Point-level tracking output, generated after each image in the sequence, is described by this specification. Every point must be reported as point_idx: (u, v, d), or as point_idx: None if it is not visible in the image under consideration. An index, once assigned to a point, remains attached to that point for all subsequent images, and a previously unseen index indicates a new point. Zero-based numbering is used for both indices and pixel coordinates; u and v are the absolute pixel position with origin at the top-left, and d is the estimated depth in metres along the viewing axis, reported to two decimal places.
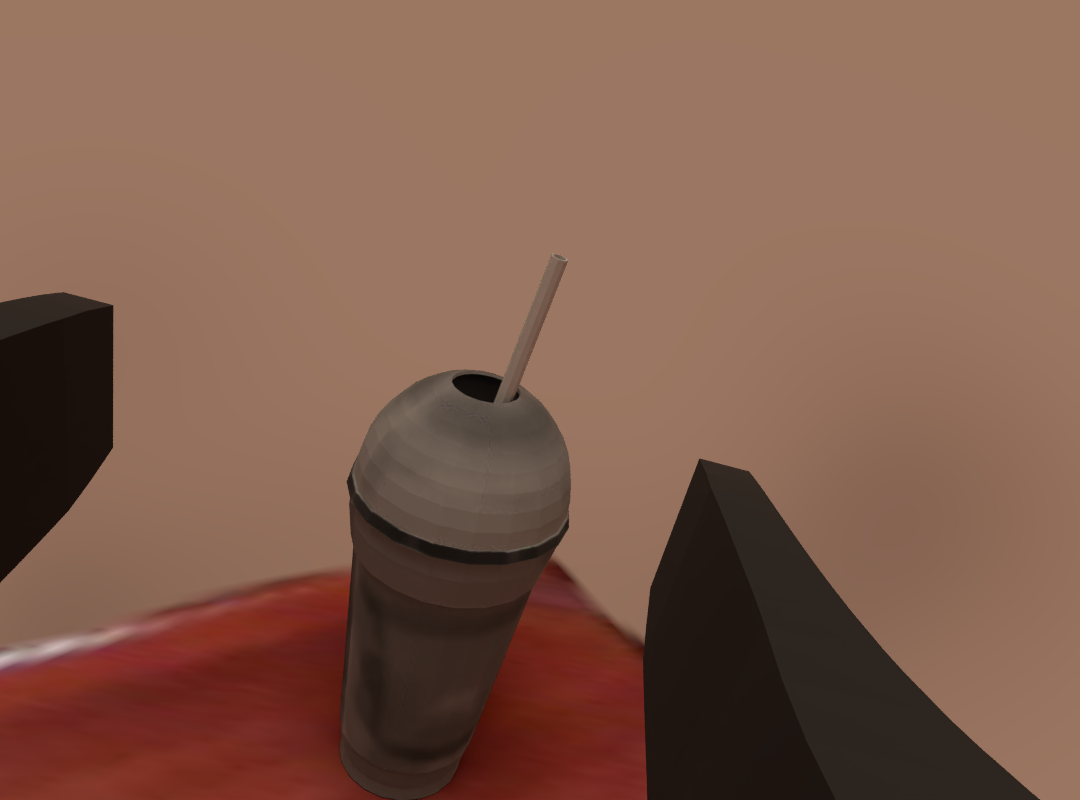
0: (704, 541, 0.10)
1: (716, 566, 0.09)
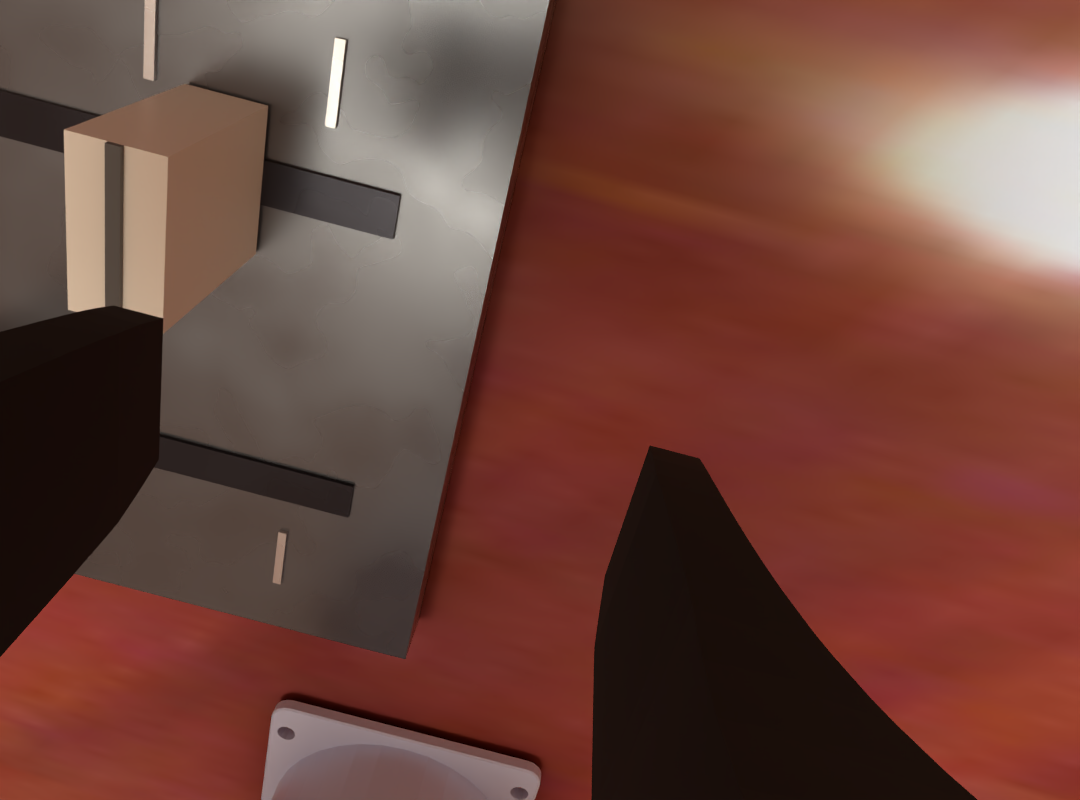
0: (648, 527, 0.10)
1: (657, 551, 0.09)
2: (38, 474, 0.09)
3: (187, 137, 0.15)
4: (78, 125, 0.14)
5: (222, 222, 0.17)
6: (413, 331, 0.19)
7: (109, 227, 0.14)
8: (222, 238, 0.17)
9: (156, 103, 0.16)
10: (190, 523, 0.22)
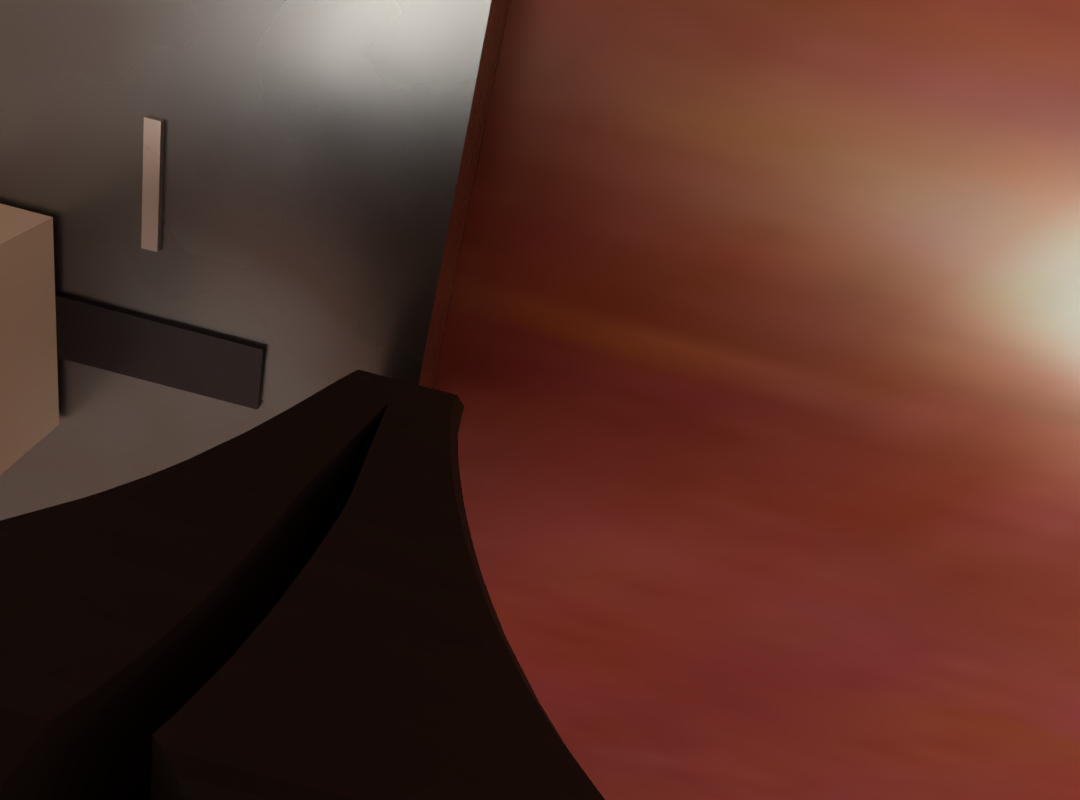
0: None
1: None
2: None
3: None
4: None
5: None
6: None
7: None
8: None
9: None
10: None
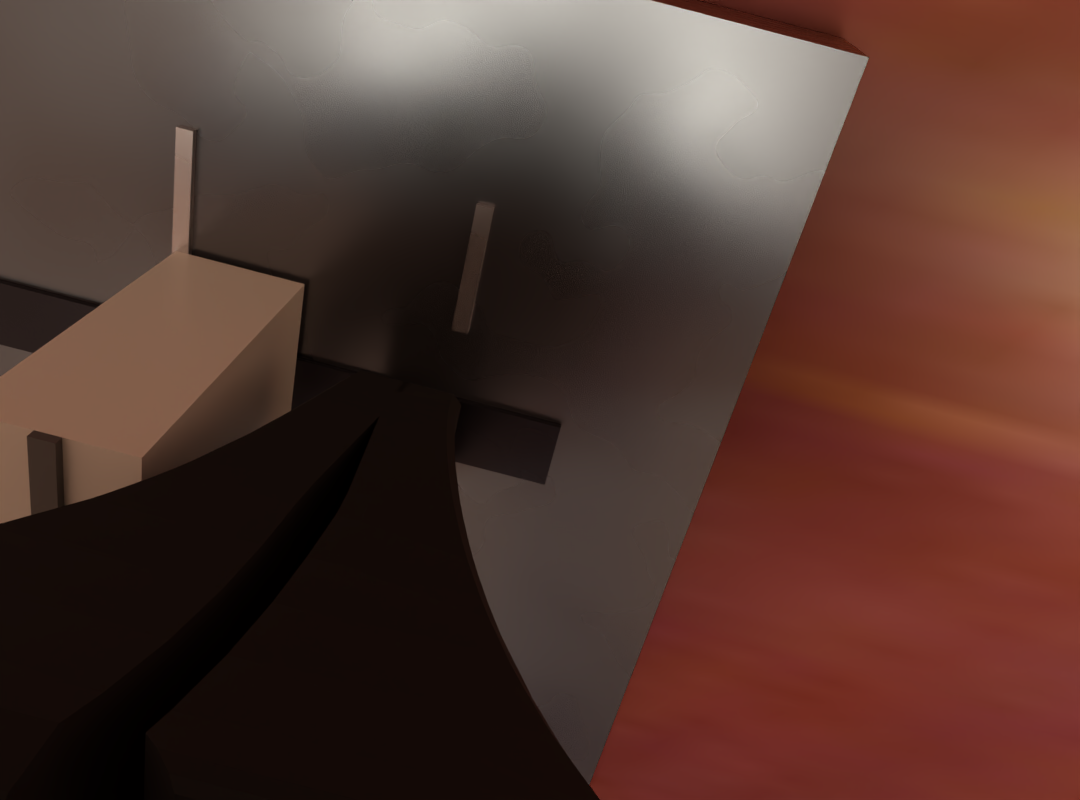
0: None
1: None
2: None
3: (176, 390, 0.09)
4: None
5: None
6: (563, 600, 0.13)
7: None
8: None
9: (128, 306, 0.10)
10: None
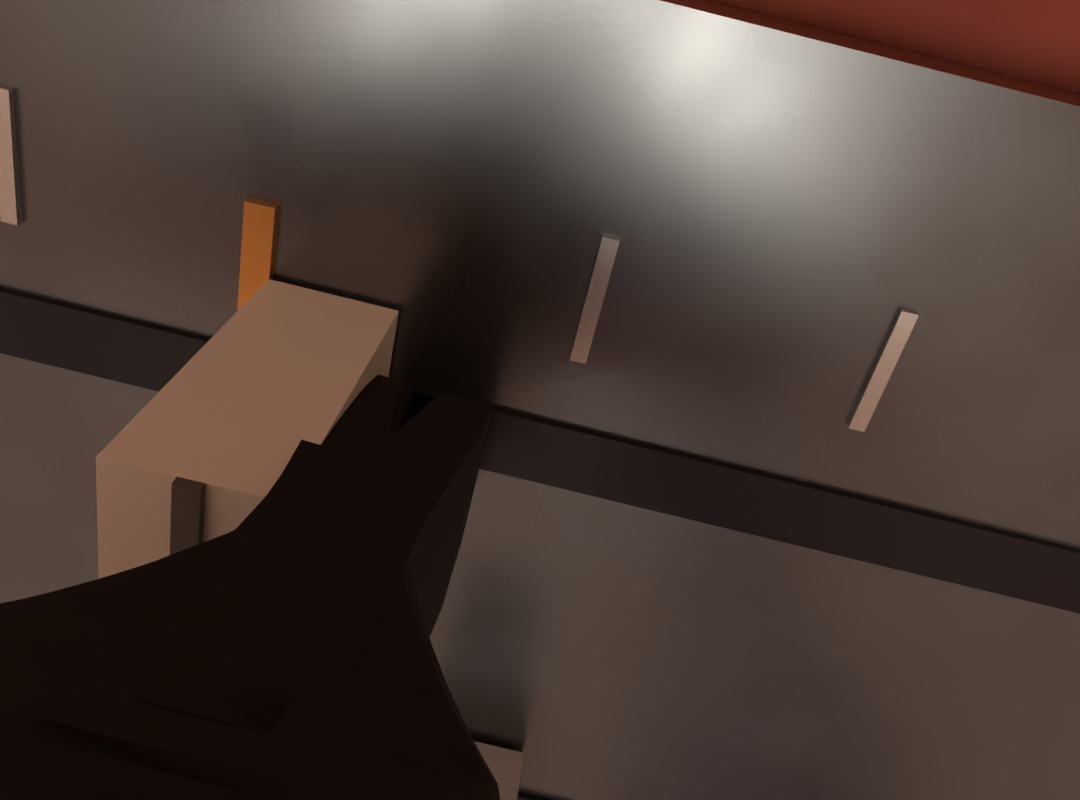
0: None
1: None
2: (431, 576, 0.09)
3: (303, 429, 0.09)
4: (120, 436, 0.08)
5: None
6: None
7: None
8: None
9: (236, 340, 0.10)
10: None
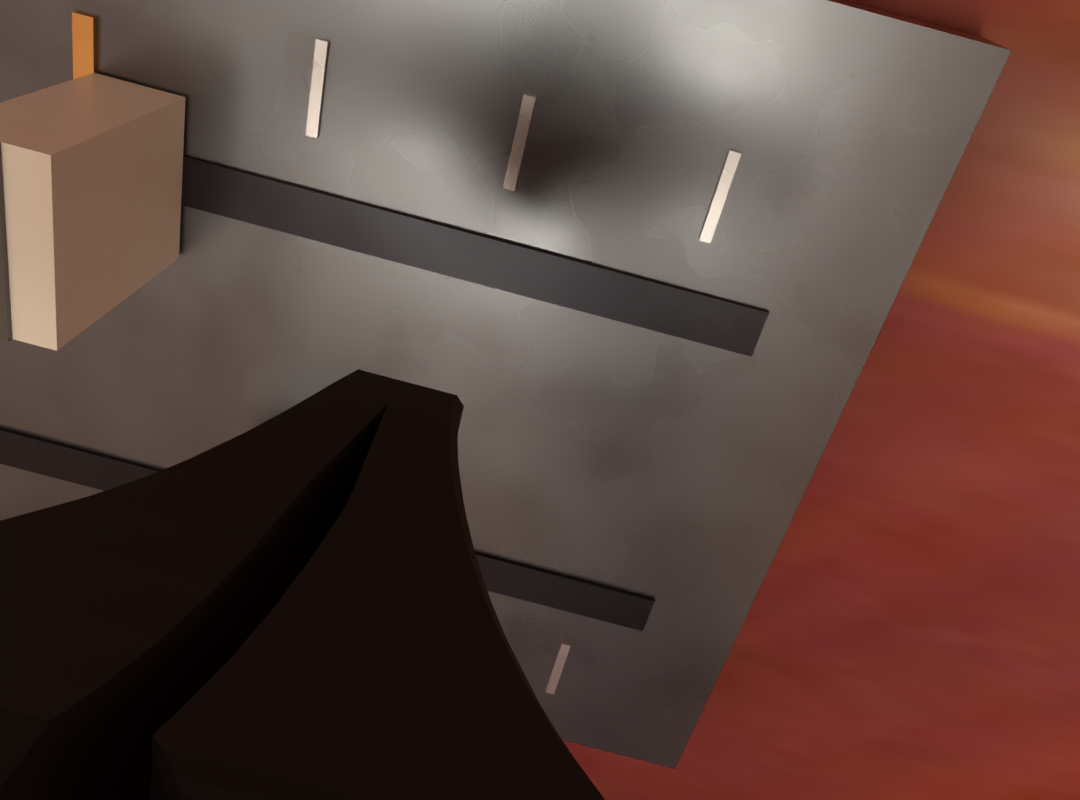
0: None
1: None
2: None
3: (80, 131, 0.13)
4: None
5: (131, 225, 0.15)
6: (752, 448, 0.18)
7: None
8: (132, 242, 0.15)
9: (54, 94, 0.14)
10: None
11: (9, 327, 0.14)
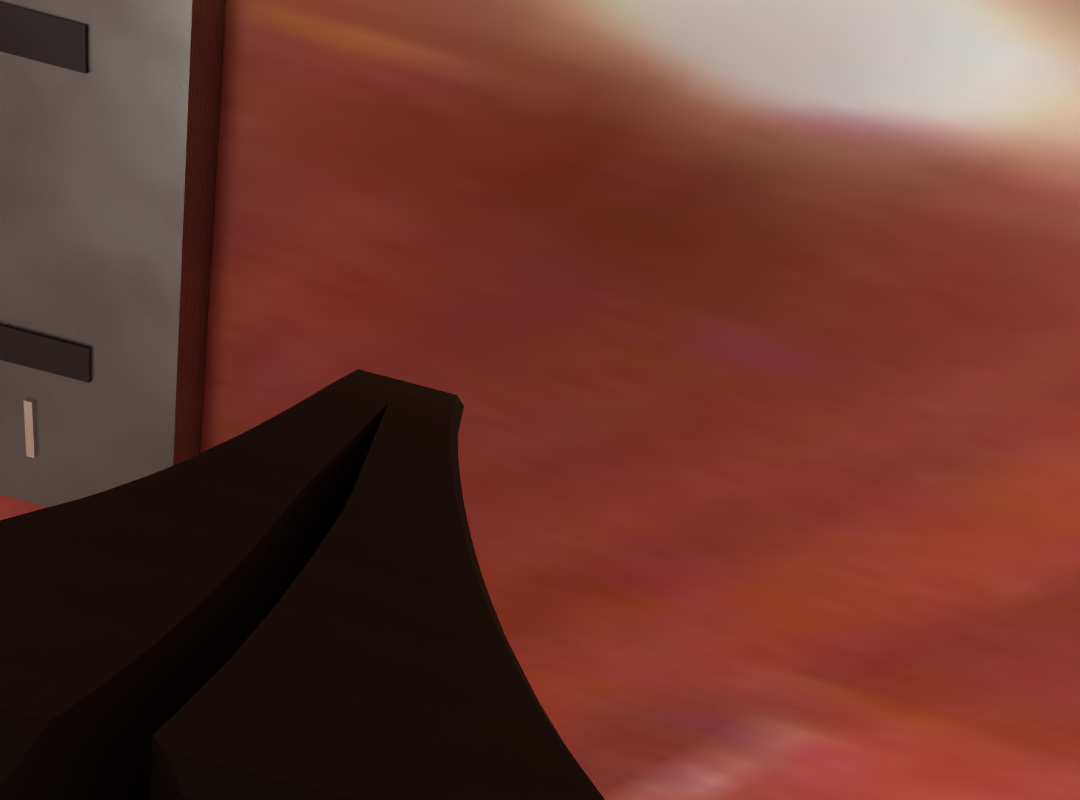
0: None
1: None
2: None
3: None
4: None
5: None
6: (123, 176, 0.19)
7: None
8: None
9: None
10: None
11: None
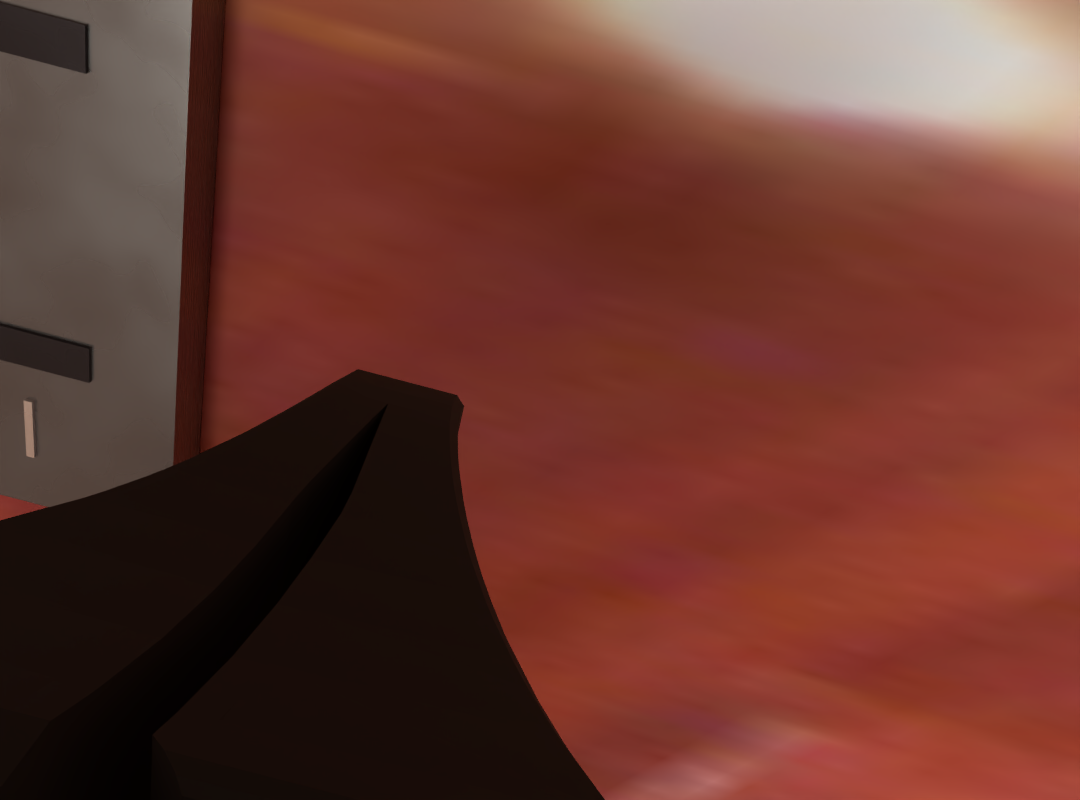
0: None
1: None
2: None
3: None
4: None
5: None
6: (123, 176, 0.19)
7: None
8: None
9: None
10: None
11: None
